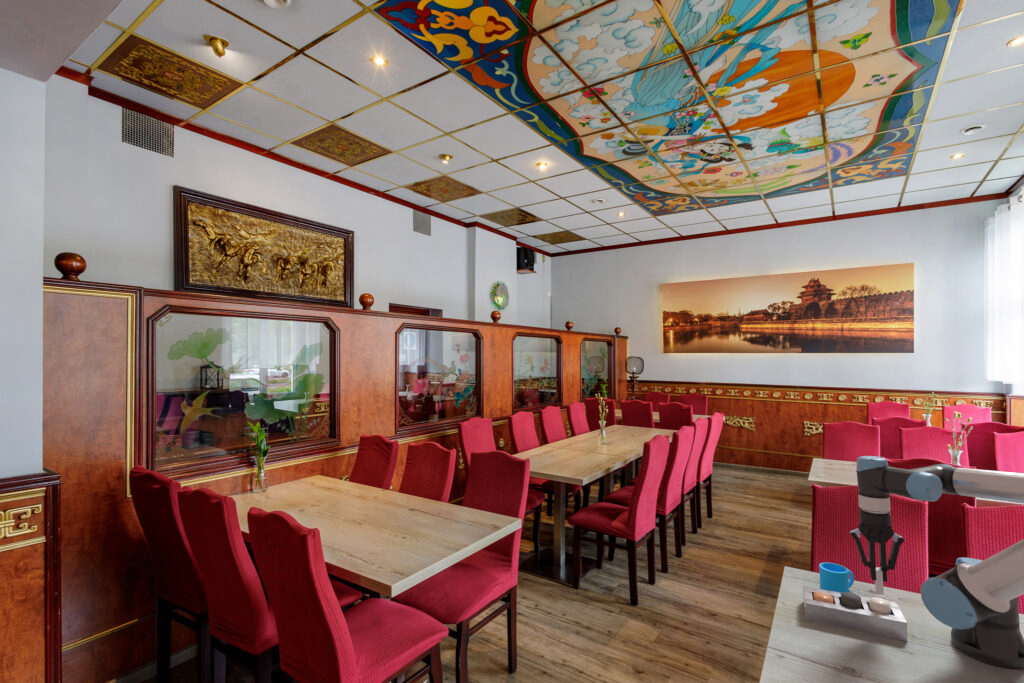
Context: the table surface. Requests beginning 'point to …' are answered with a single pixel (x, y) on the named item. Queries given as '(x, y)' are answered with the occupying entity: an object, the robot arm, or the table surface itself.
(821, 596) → the button terracotta
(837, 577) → the mug
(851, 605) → the button black
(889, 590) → the table surface
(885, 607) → the button ivory
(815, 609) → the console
